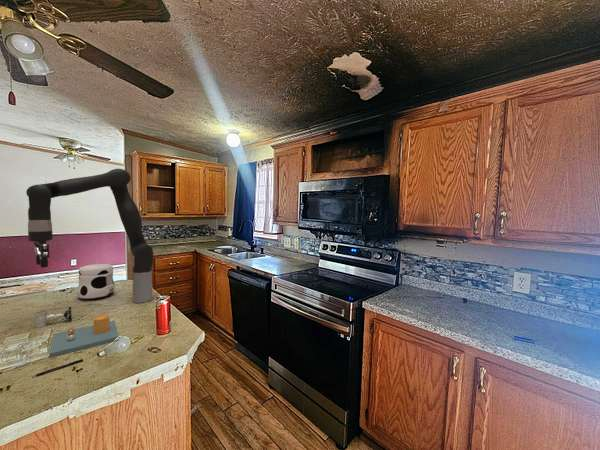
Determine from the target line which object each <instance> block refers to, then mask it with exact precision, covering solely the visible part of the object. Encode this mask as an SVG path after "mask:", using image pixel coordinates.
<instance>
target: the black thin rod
mask: <svg viewBox="0 0 600 450" xmlns="http://www.w3.org/2000/svg"><path fill="white" fill-rule="evenodd" d="M82 362H84V359H83V358H80V359H78V360H75V361H73V362H69V363H67V364H63V365H60V366H57V367H54V368H51V369H47V370H45V371H42V372H39V373H37V374H33V375H31V378H32V379H33V378H38V377H40V376H43V375H46V374H49V373H52V372H55V371H59V370H61V369H64V368H67V367H70V366H73V365H75V364H79V363H82Z"/></svg>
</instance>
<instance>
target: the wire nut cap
mask: <svg viewBox="0 0 600 450" xmlns="http://www.w3.org/2000/svg"><path fill="white" fill-rule="evenodd" d="M92 320H93V325H94V334H100V333H104V332H107V331H108V330H109V322H110V315H109V314H105V313H104V314H98V315H96V316H94V317H93V319H92Z"/></svg>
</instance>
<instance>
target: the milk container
mask: <svg viewBox="0 0 600 450" xmlns="http://www.w3.org/2000/svg"><path fill="white" fill-rule="evenodd" d="M113 270H114V267H113V264H110V263H94V264H88V265H87V264H86V265H83V266H81V267H79V269H78V285H77V288H76V289H77V290H76V294H77V297H78V298H79V299H80V300H96V299H102V298H106V297H109V296H111V295H112V294H113V293H114V292H115V289H116V288H115V287H116V286H115V282H114V272H113Z"/></svg>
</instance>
